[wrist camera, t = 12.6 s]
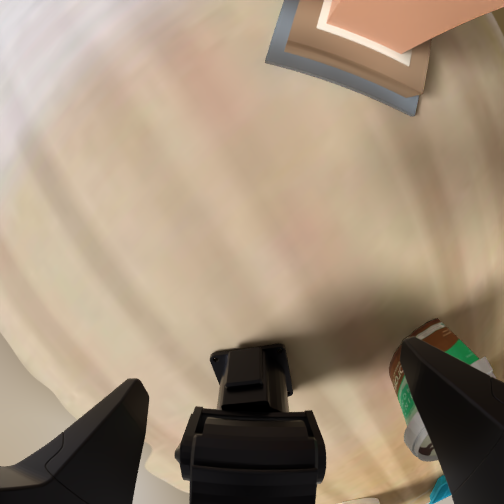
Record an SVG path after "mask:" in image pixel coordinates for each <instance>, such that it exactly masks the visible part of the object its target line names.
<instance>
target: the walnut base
mask: <svg viewBox="0 0 504 504" xmlns="http://www.w3.org/2000/svg"><path fill="white" fill-rule="evenodd" d="M331 3H332V0H284V2H283V6H282V9H281V12H280V15H279V18H278V21H277V24H276V27H275V30H274V34H273V37H272V40H271V43H270V47H269V50H268V53H267V56H266V60H265V63H268V64H272V65H276V66H279V67H283V68H287V69H290V70H294V71H297V72H301V73H304V74H307V75H310V76H314V77H317V78H320V79H323V80H326V81H329V82H331V83H334V84H337V85H340V86H342V87H345V88H348V89H350V90H353V91H356V92H358V93H361V94H363V95H365V96H368V97H370V98H373V99H375V100H377V101H379V102H382V103H384V104H386V105H388V106H390V107H393V108H395V109H397V110H399V111H401V112H403V113H405V114H407V115H409V116H415V112H416V108H417V103H418V98H419V95H421V94H423V91H424V85H425V80H426V74H427V68H428V62H429V55H430V48H431V40H432V38H431V39H429V40H427V41H425V42H423V43H421V44H419V45H417V46H415V47H414V48H412V49H410V50H408V51H406V52H404V53H402V54H400V53H398V52H396V51H394V50H391V49H389V48H387V47H385V46H383V45H381V44H378V43H376V42H374V41H372V40H369V39H367V38H364V37H362V36H360V35H357V34H354V33H352V32H349V31H347V30H344V29H341V28H338V27H335V26H332V25H330V24H327V23H326V22H327V18H328V15H329V11H330V7H331Z"/></svg>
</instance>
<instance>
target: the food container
mask: <svg viewBox="0 0 504 504" xmlns="http://www.w3.org/2000/svg"><path fill="white" fill-rule="evenodd" d="M412 336H415V337H417V338H419V339H421V340H423V341H425V342H427V343H428V344H430V345H432V346H434V347H436V348H438V349H440V350H442V351H444V352H446V353H448V354H450V355H451V356H453V357H455V358H457V359H459V360H461V361H463V362H465V363H467V364H469V365H471V366H473V367H475V368H476V369H478V370H480V371H482V372H484V373H486V374H488V375H490V377H494V378H496V377H495V375H494V374H493V372H492V371H493V369H492V367H491V365H490V364H489V362H488V360H487V358H486V357H483V358H481V359H479V358H478V357H477V356H476V355H475V354H474V353H473V352H472V351H471V350H470V349H469V348H468V347H467V346H466V345H465V344H464V343H463V342H462V341H461V340H460V339H459V338H458V337H457V336H456V335H455V334H454V333H453V332H452V331H451V330H450V329H448V328H447V327H446V326H445V325H444V324H443V323H442V322H441V321H440V320H439V319H438V318H437V319H435V320H432V321H430V322H427V323H426V324H424V325H423V326H421V327H420V328H418V329H416V330H415V331H414V332H413V333H412V334H411V335H410V336H408V337H412ZM408 337H407V338H408ZM401 346H402V344H401V345H400V346H399V348H398V349H397V351H396V352H395V353H394V355H393V358H392V360H391V362H390V367H389V374H390V378H391V380H392V383H393V386H394V389H395V392H396V394H397V397H398V400H399V403H400V406H401V409H402V412H403V415H404V418H405V421H406V424H407V428H406V430H405V434H404V442H405V443H406V445H407V446H408V448H409V449H410V450H411V452H412V453H413V454H414V455H415V456H416V457H418V458H419V459H420V460H422V461H436V460H438V457H437V455H436V452H435V450H434V447H433V445H432V443H431V440H430V438H429V435H428V433H427V431H426V428H425V426H424V424H423V422H422V419H421V417H420V415H419V413H418V410H417V408H416V406H415V404H414V401H413V399H412V396H411V393H410V390H409V387H408V384H407V381H406V378H405V375H404V372H403V369H402V366H401V363H400V353H401Z"/></svg>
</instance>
